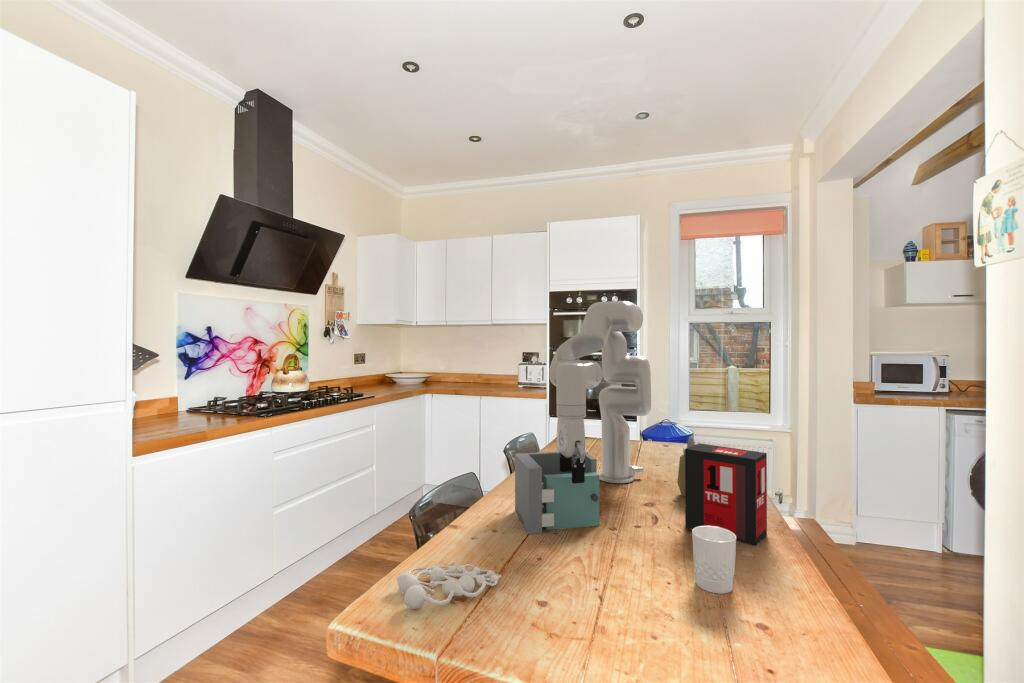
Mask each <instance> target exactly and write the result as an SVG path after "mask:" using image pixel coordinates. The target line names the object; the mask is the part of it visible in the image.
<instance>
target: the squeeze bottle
mask: <svg viewBox="0 0 1024 683" xmlns="http://www.w3.org/2000/svg"><path fill="white" fill-rule="evenodd" d="M693 445H696V444H695V440H694V436H689V437H688V441H687V445H686V447H683V448H682V453H683V454H682V455H681V456H680V457H679V461H678V462H679V463H678V464H679V465H678V473H677V486H678V489H679V492H680V495H681V496H682V497H684V498H685V449H686V448H688V447H691V446H693Z"/></svg>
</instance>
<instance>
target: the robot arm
mask: <svg viewBox="0 0 1024 683" xmlns="http://www.w3.org/2000/svg"><path fill="white" fill-rule="evenodd" d="M643 322H644V314H643V312H642V309H641V307H640V306H639V305H637V304H635V303H634V302H630V301H626V300H618V301H617V300H615V301H614V300H613V301H612V300H611V301H598V302H597V301H596V302H594V303H592V304H591V305H590V306H589V307H588V309H587V311H586V313H585V314H584V318H583V321H582V323H581V326H580V328H579V332H578V333H577V334H574V335H573V336H571V337H570V338H568V339H567V340H566V341H564V342H563V343H562V344H560V345H559V346H558V348H557V349H556V350H555V352H554V355H553V358H552V360H551V363H550V365H549V370H548V377H549V378H548V379H549V381H550V383H551V384H552V385H553V386H555V387H556V397H555V398H556V417H557V424H556V425H557V427H556V450H557V452H560V471H561V472H571V471H572V483H584V482H585V455H586V454H585V452H586V433H585V432H586V431H585V430H586V429H585V419H584V418H586V417H587V389H593V388H596V387H598V386H599V385H600V383H601V382H602V380H603V379H604V381H605V382H607V383H612V384H623V385H624V384H625V385H626V384H627V385H630V384H631V385H635V387H630V386H628V387H626V386H606V387H604V388H603V389H601V390H600V391H599V395H598V404H599V411H600V418H601V419H600V420H601V471H599V472H597V474H598V475H599V481H601V482H605V483H610V484H628V483H631V482H634V481H635V474H636V473H638V474H639V473H644V467H643V466H636V465H631V453H630V452H631V448H630V446H631V443H630V442H631V438H630V437H631V430H630V425H629V423H628V422H627V420H626V419H625V417H624V416H630V417H631V416H632V417H646V416H648V415H649V414H650V412H651V410H652V382H651V380H652V378H651V377H652V374H651V365H650V363H649V360H648V358H647V357H645V356H643V355H642V356H641V355H629V354H628V345H627V344H628V342H627V339H626V337H625V336H624V334H623V333H627V332H628V333H629V332H631V333H632V332H634V333H635V332H637V331H640V330H641V328H642V326H643ZM600 351H601V365H600V364H599V363H598V362H596V361H594V360H585V359H584V360H581V359H579V358H584V357H586V356H589V355H592V354H594V353H597V352H600ZM573 454H575V455H573ZM561 456H562V457H561ZM575 459H577V460H576V461H575ZM572 464H573V467H572Z"/></svg>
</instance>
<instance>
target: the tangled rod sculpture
mask: <svg viewBox="0 0 1024 683" xmlns="http://www.w3.org/2000/svg"><path fill="white" fill-rule="evenodd" d="M467 567H471V568H473V569H472V570H470V571H468V570H466V568H467ZM420 570H421V571H420ZM415 571H420V572H418V573H417V574H414V575H413V574H412V572H415ZM482 573H484V574H482ZM425 575H429V580H430V582H425V581H421V580H419V578H421V577H422V576H425ZM455 577H457V578H458V579H457V578H455ZM501 578H502V575H501V574H498V573H495V571H494V570H491V569H482V568H480V567H479V566H475V565H474V564H470V563H466V564H464V565H462V564H460V565H459V566H457V565H433V566H421V567H414V568H411V569H409V571H408V573H407V572H403V573H399V574H398V575H397V576H396V582H397V586H398V588H399V589H400V591H401V592H402V593H403V594H404V603H405V605H406V607H408V608H409V609H412V610H416V609H417V610H418V609H419V608H422V606H423V605H424V604H425V602H427V603H430V604H432V605H436V606H445V605H447V604H448V603H450V602H451V601H452V599H453V596H456V597H463V596H464V597H466V598H467V597H468V598H476V597H479V596H480V595H481V593H482V592H483V591H484V590H485V588H486V585H487V586H490V587H495V586H497V584H498V583H499V580H500V579H501ZM444 580H445V581H444ZM476 584H477V585H478V586H479V588H478V590H476V591H475V592H473V591H474V590H475V589H476ZM438 585H442V588H441V589H442V592H443V594H444V595H446V596H447V598H446V599H443V600H437V599H434V598H432V595H434V594H436V590H435V589H434V588H435V587H437V586H438ZM428 586H429V587H428ZM430 587H431V588H433V589H431V588H430ZM426 590H428V591H429V592H430V594H429V593H428V592H427V591H426ZM431 594H432V595H431Z"/></svg>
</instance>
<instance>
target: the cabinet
mask: <svg viewBox="0 0 1024 683" xmlns="http://www.w3.org/2000/svg"><path fill="white" fill-rule="evenodd" d="M585 454H586V455H585V473H587V472H596V473H597V474H598V472H597V469H598V468H597V466H598V465H597V461H598V460H597V458H595V457H594V456H592V455H591V454H589V453H588V452H586V451H585ZM573 455H575V454H573ZM561 457H562V456H561ZM576 460H577V459H575V461H576ZM572 467H573V464H572ZM570 473H572V471H571V472H561V471H560V452H559V451H549V452H548V451H546V452H545V451H544V452H527V453H525V452H524V453H515V454H514V512H515V514H516V516H517V517H518V519H519V520H520V522H521V523H522V525H523V527H524V529H525V531H526V533H527V534H528V535H534V534H535V535H536V534H537V535H538V534H543V528H545V527H548V526H554V513H544V502H554V489H544V475H553V474H570Z"/></svg>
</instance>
